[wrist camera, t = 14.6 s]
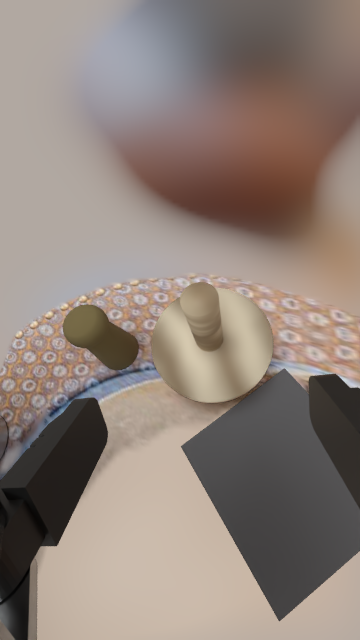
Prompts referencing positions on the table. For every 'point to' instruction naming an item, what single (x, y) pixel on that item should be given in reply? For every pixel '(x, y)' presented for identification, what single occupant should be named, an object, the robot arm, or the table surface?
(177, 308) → the lid
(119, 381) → the table surface
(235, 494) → the mat
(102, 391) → the table surface
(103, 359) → the olive pawn
